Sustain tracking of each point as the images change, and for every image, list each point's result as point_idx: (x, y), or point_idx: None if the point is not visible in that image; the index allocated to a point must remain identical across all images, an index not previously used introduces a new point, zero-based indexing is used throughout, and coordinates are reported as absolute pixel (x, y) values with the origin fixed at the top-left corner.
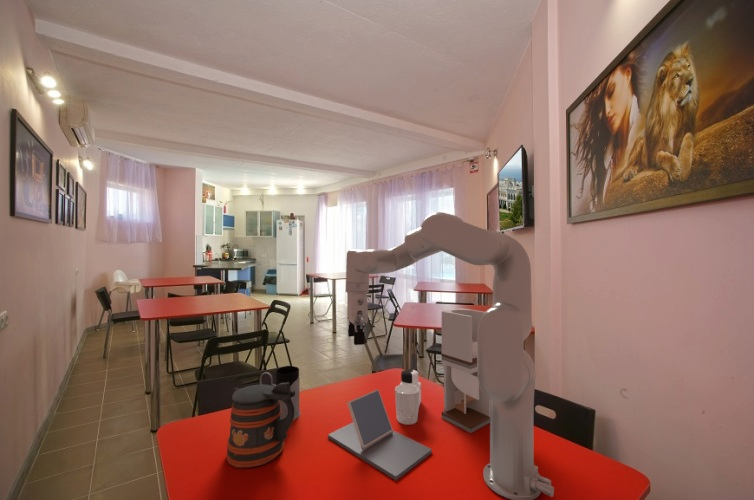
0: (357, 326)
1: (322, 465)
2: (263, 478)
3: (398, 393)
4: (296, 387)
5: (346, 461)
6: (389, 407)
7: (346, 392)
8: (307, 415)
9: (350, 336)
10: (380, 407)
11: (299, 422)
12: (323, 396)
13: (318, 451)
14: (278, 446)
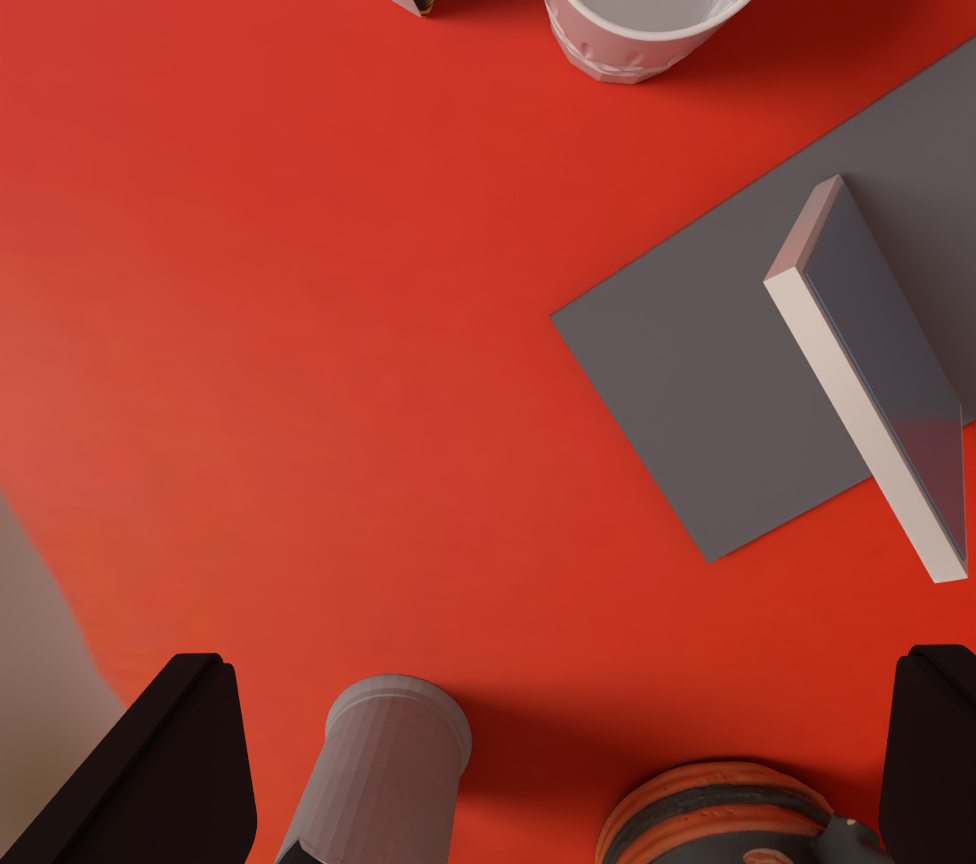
0: (91, 861)
1: (936, 600)
2: None
3: (716, 26)
4: (409, 840)
5: None
6: (411, 92)
7: (121, 376)
8: (423, 640)
9: (243, 794)
10: (842, 261)
11: (495, 682)
12: (175, 535)
13: (812, 609)
14: (818, 813)
